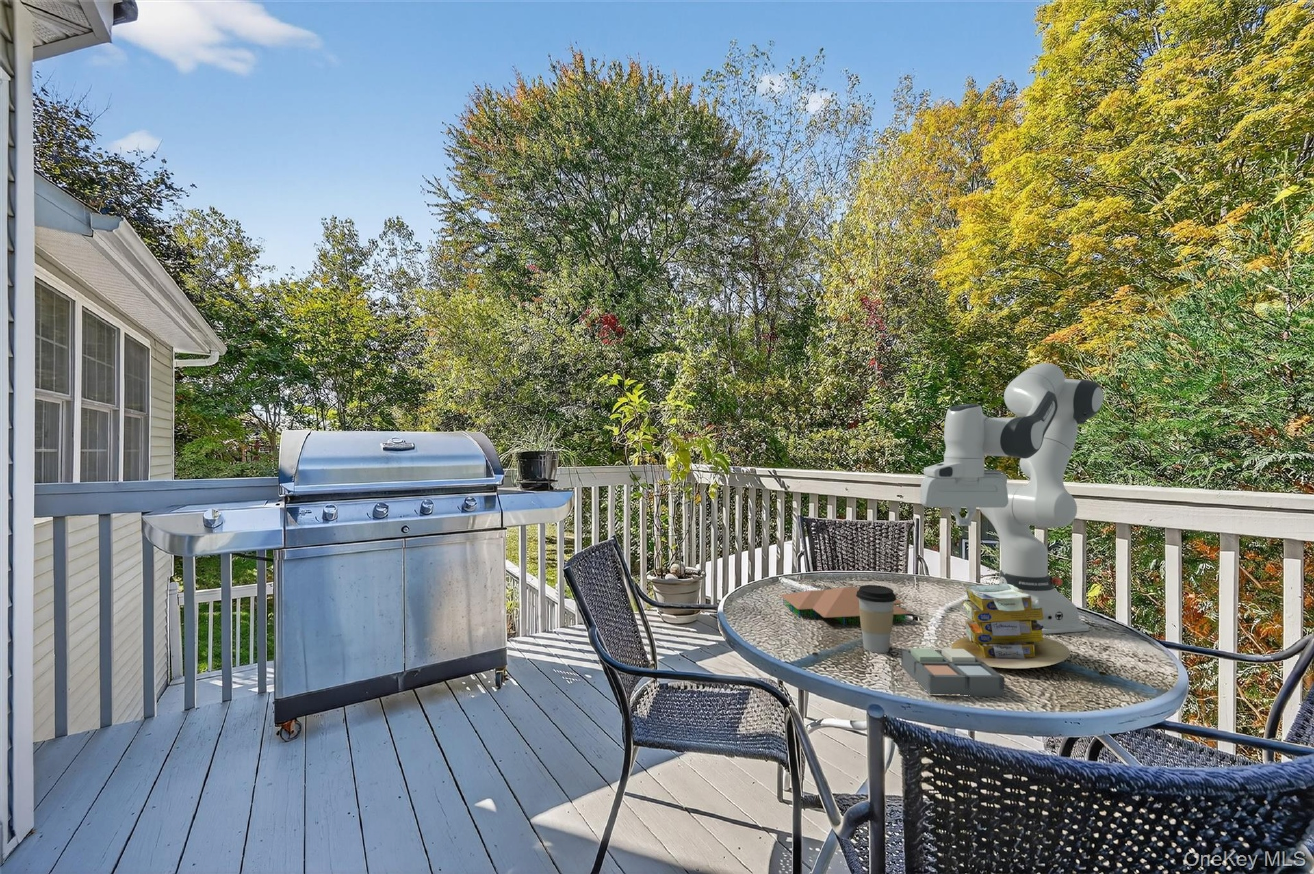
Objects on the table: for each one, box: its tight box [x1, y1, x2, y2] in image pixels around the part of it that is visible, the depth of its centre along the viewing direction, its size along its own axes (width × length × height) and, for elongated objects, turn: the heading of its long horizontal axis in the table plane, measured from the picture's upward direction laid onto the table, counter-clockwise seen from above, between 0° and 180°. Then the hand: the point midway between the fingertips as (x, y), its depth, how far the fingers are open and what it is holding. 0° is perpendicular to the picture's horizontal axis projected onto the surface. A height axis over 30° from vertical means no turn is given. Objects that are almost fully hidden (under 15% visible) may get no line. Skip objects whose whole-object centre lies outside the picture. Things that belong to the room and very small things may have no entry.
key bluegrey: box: [957, 666, 991, 675], centre depth 124 cm, size 5×5×2 cm
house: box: [779, 586, 911, 626], centre depth 175 cm, size 23×33×8 cm
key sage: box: [910, 647, 943, 662], centre depth 131 cm, size 5×5×2 cm
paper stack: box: [950, 583, 1071, 669], centre depth 141 cm, size 25×25×17 cm
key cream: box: [941, 648, 975, 662], centre depth 131 cm, size 5×5×2 cm
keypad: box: [900, 648, 1005, 697], centre depth 127 cm, size 15×15×4 cm
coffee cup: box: [856, 584, 897, 654], centre depth 146 cm, size 9×9×15 cm
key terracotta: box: [924, 665, 958, 675], centre depth 124 cm, size 5×5×2 cm
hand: (963, 525), depth 144 cm, fingers closed
